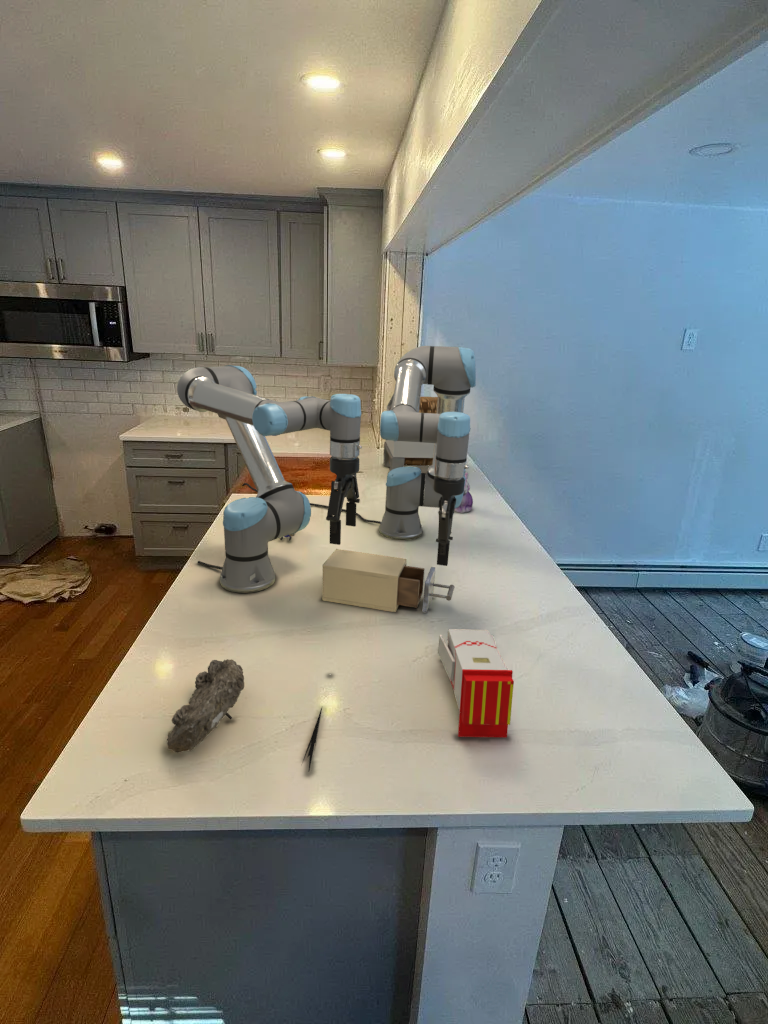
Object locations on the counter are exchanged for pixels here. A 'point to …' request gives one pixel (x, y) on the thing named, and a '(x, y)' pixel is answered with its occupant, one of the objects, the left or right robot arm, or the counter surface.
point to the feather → (313, 740)
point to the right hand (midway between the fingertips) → (442, 564)
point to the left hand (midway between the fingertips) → (343, 534)
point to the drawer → (418, 587)
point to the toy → (478, 682)
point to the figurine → (465, 499)
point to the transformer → (410, 443)
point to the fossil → (206, 705)
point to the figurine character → (288, 536)
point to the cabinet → (362, 579)
